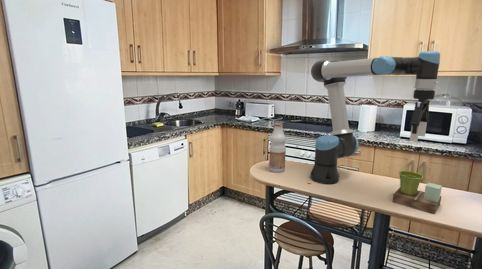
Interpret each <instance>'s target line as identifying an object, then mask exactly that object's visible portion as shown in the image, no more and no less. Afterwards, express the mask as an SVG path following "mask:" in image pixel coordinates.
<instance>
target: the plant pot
mask: <svg viewBox="0 0 482 269" xmlns="http://www.w3.org/2000/svg"><path fill="white" fill-rule="evenodd" d="M398 175H399V182H400V183H399V184H400V185H399V188H400V191H401V192H402V193H405V194H407V195H414V194H416V192H417V190H418V188H419V186H420V183H421V181H422V179H423V178H424V176H423V175H422V174H421V173H419V172H415V171H409V170H400V171H398Z"/></svg>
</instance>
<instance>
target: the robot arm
mask: <svg viewBox="0 0 482 269" xmlns="http://www.w3.org/2000/svg"><path fill="white" fill-rule="evenodd" d="M440 60H441V52H439V51H436V50H434V51H433V50H431V51H420V52H419V54H418V56H414V57H413V56H412V57H409V56H408V57H402V56H401V57H399V56H388V55H383V56H379V57H371V58H370V57H369V58H362V59H361V58H359V59H353V60H352V59H351V60H343V61H340V60H325V59H324V60H323V59H322V60H321V59H320V60H318V61H316V62H315V63H314V64H313V65H312V67H311V70H310V75H311V77H312V79H314V81H316V82H318V83H323V87H324V88H325V89H326V90H327V95H328V96H327V98H328V104H329V111H330V117H331V127H332V132H331V134H328V135H321V136H319V137H317V138H316V140H315V145H314V147H315V148H314V164H313V167H312V169H311V172H310V176H309V177H310V179H311V181H313V182H316V183H318V184H324V185H335V184H337V183H339V181H340V175H339V171H338V159H342V158H346V157H347V158H348V157H350V156H354V154H356V153H357V152H358V150H359V146H360V145H359V144H360V143H359V141H358V140H359V139H358V138H357V137H356V136H355V135H354V132H353V131H352V130H351V128H350V126H349V118H348V111H347V104H346V97H345V89H344V86H345V85H346V82H347V81H346V80H347V79H348V78H349V77H350V78H351V77H368V76H370V77H371V76H415V81H414V87H413V88H414V91H413V99H415V100H418V101H415V104H414V110H413V113H412V117H411V121H410V123H409V126H411V129H410V135H409V141H410V142H417V143H418V140H419V139H418V138H419V137H423V138H424V137H426V130H427V125H428V123H429V122H430V119H429V117H430V116H429V115H430V114H429V112H430V103H431V102H430V101H431V100H434V99H435V95H436V94H435V93H436V91H435V89H436V87H437V84H439V82H438V81H437V79H438V75H439V67H440V63H441V62H440Z"/></svg>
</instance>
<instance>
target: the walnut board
mask: <svg viewBox="0 0 482 269" xmlns="http://www.w3.org/2000/svg"><path fill="white" fill-rule="evenodd" d="M424 193H425V191H423V190H418V189H417V192H416V194H414V195H407V194H405V193H402V192H401V191H400V187H399V188H398V189H396V190H395V192H393V193H392V194H393V195H392V203H394V204H397V205H401V206H405V207H409V208H410V209H411V208H412V209H416V210H418V211H422V212H426V213H429V214H432V215H436V212H437V211H438V209H439V207H440V205H441V201H442V196H441V195H440V199H439V201H438V202H434V201H430V200H426V199H424Z"/></svg>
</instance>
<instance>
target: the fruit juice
mask: <svg viewBox="0 0 482 269" xmlns="http://www.w3.org/2000/svg"><path fill="white" fill-rule="evenodd" d="M283 126H284V124H283V123H280V122H274V124H273V127H274V129H273V132H272V134H270V137H269V140H270V141H269V142H270V144H269V153H268V154H269V155H268V156H269V158H268V170H269V171H270V172H271V171H272V173H276V174H277V173H284V172H285V170H286V153H287V151H286V150H287V149H286V140H287V138H286V135H285V133H284V129H283Z"/></svg>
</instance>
